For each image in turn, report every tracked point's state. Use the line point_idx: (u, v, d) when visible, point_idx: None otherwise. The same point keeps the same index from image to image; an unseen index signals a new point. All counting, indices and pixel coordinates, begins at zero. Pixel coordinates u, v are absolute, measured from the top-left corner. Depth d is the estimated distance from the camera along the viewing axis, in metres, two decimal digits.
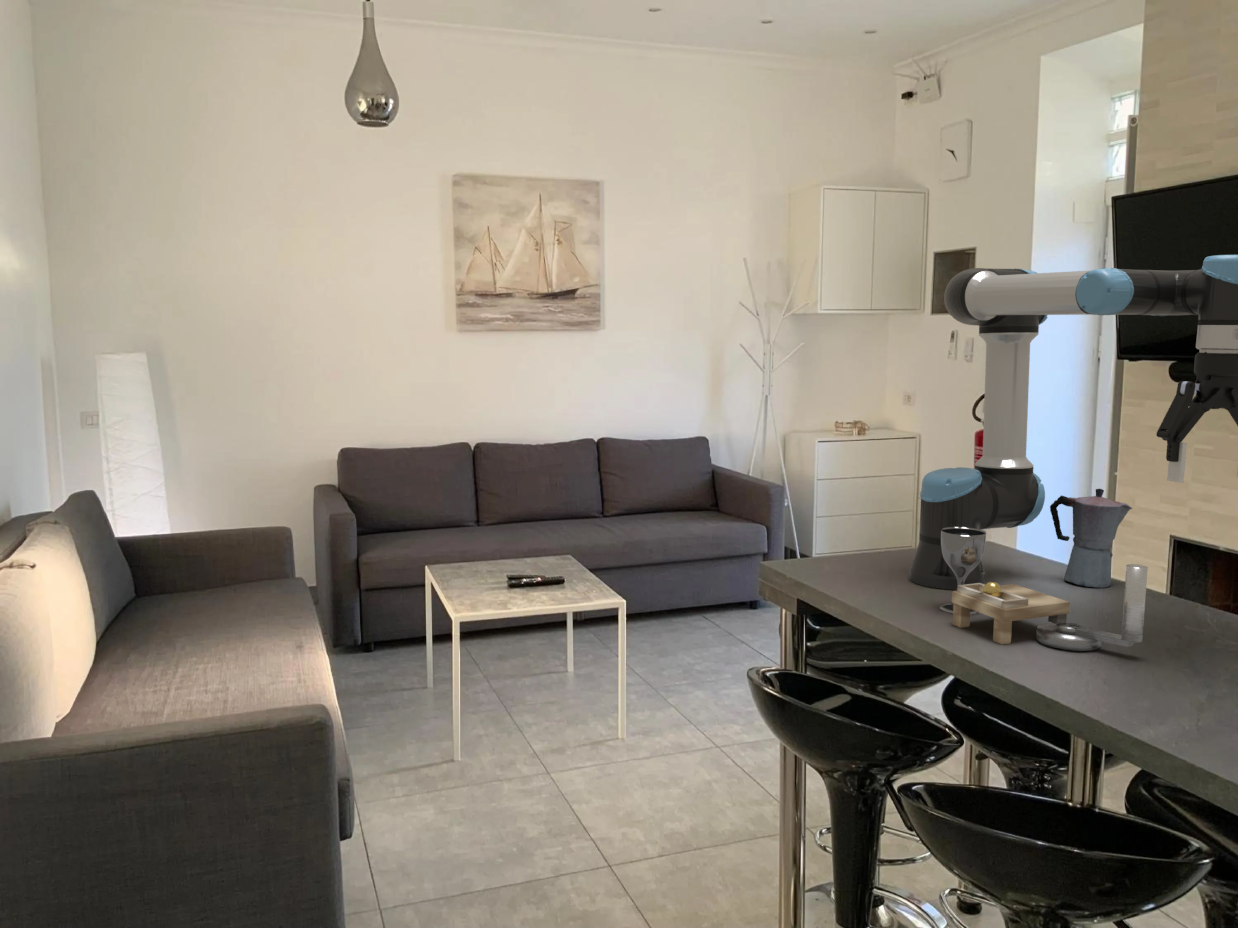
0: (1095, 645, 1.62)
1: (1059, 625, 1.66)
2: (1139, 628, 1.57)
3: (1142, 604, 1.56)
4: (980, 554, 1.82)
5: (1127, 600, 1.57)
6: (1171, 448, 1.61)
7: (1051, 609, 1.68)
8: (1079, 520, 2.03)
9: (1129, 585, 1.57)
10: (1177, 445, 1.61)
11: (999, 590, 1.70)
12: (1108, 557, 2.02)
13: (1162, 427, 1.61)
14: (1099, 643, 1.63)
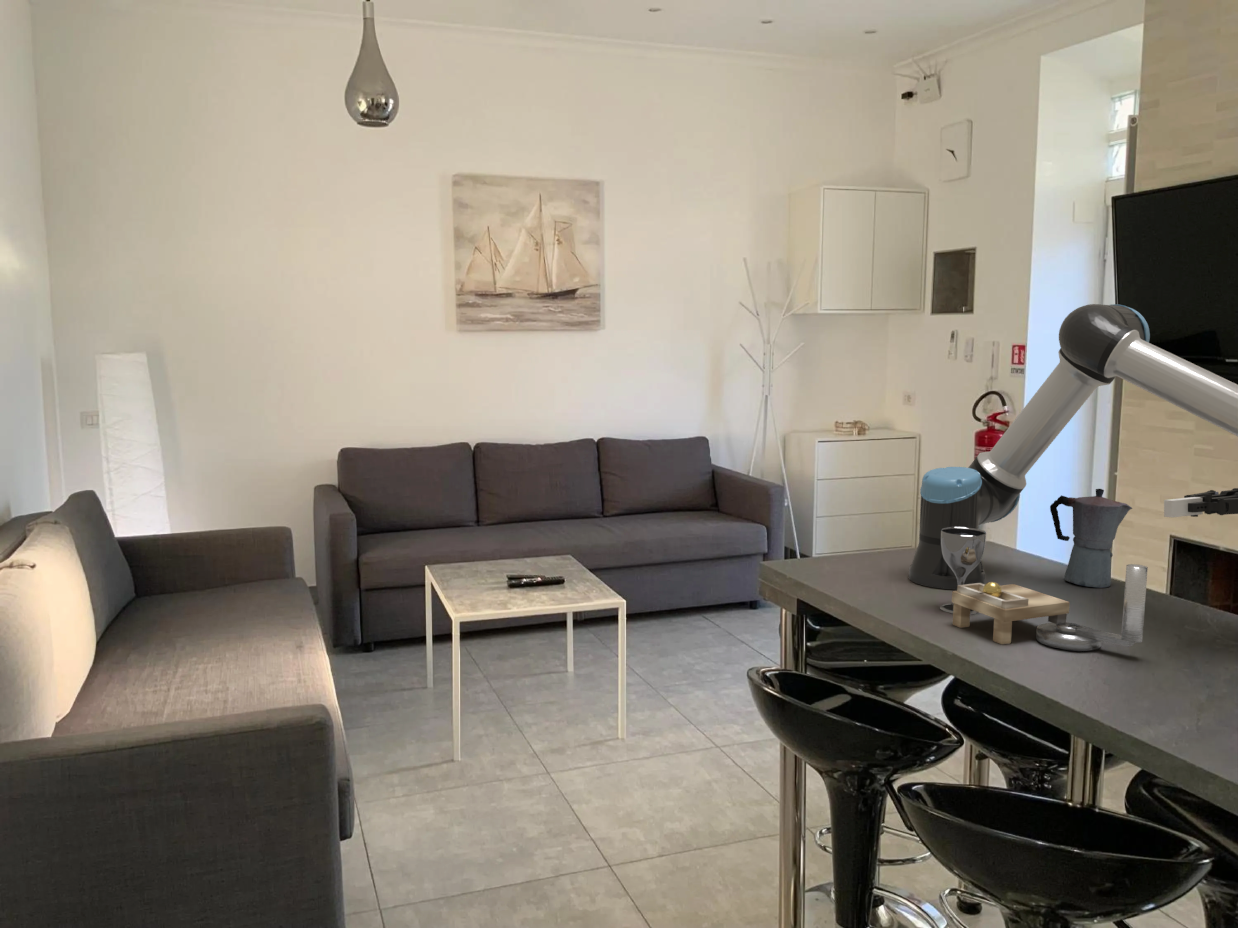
0: (1095, 645, 1.62)
1: (1059, 625, 1.66)
2: (1139, 628, 1.57)
3: (1142, 604, 1.56)
4: (980, 554, 1.82)
5: (1127, 600, 1.57)
6: (1204, 508, 1.59)
7: (1051, 609, 1.68)
8: (1079, 520, 2.03)
9: (1129, 585, 1.57)
10: None
11: (999, 590, 1.70)
12: (1108, 557, 2.02)
13: (1229, 503, 1.58)
14: (1099, 643, 1.63)
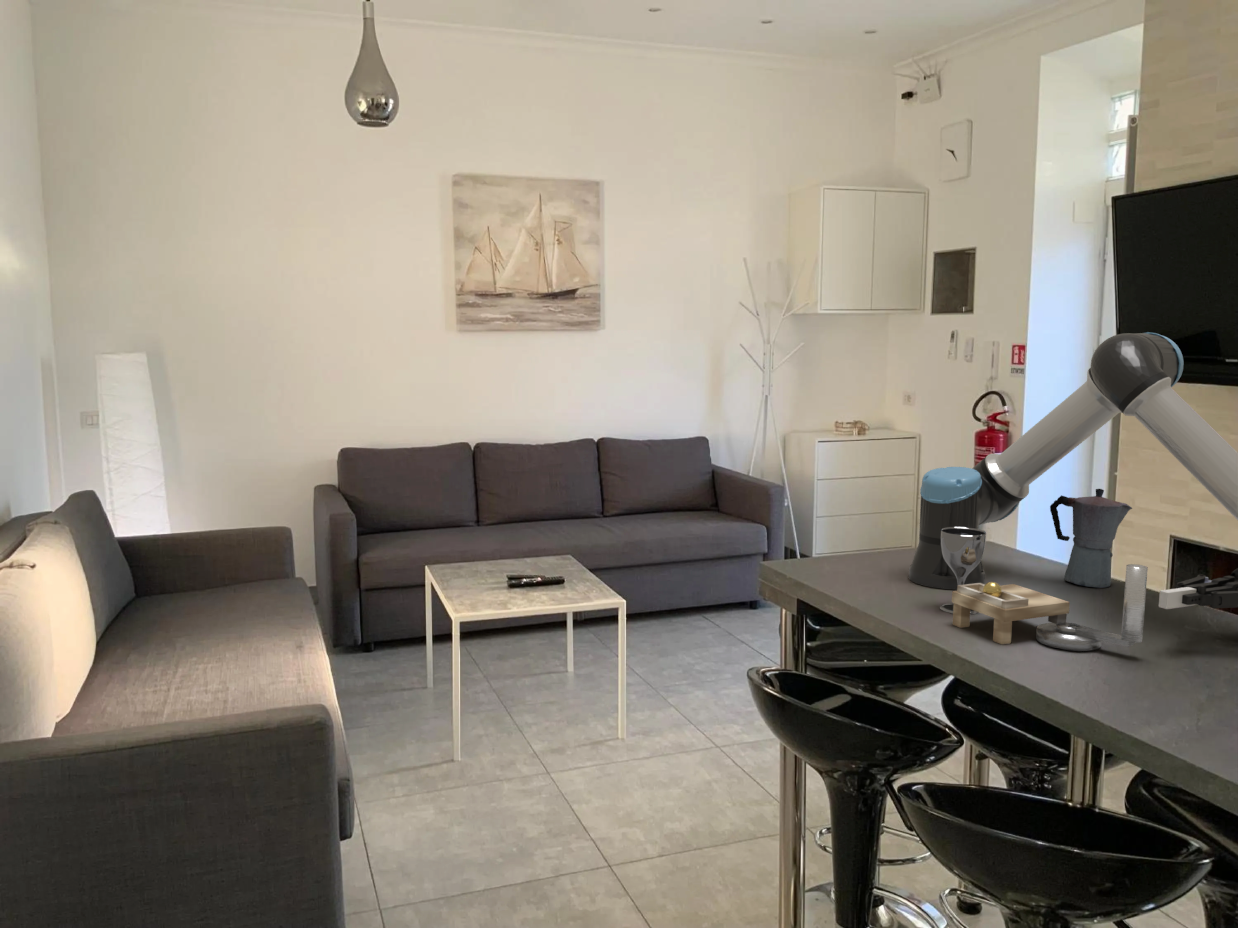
0: (1095, 645, 1.62)
1: (1059, 625, 1.66)
2: (1139, 628, 1.57)
3: (1142, 604, 1.56)
4: (980, 554, 1.82)
5: (1127, 600, 1.57)
6: (1197, 601, 1.60)
7: (1051, 609, 1.68)
8: (1079, 520, 2.03)
9: (1129, 585, 1.57)
10: None
11: (999, 590, 1.70)
12: (1108, 557, 2.02)
13: (1222, 597, 1.59)
14: (1099, 643, 1.63)
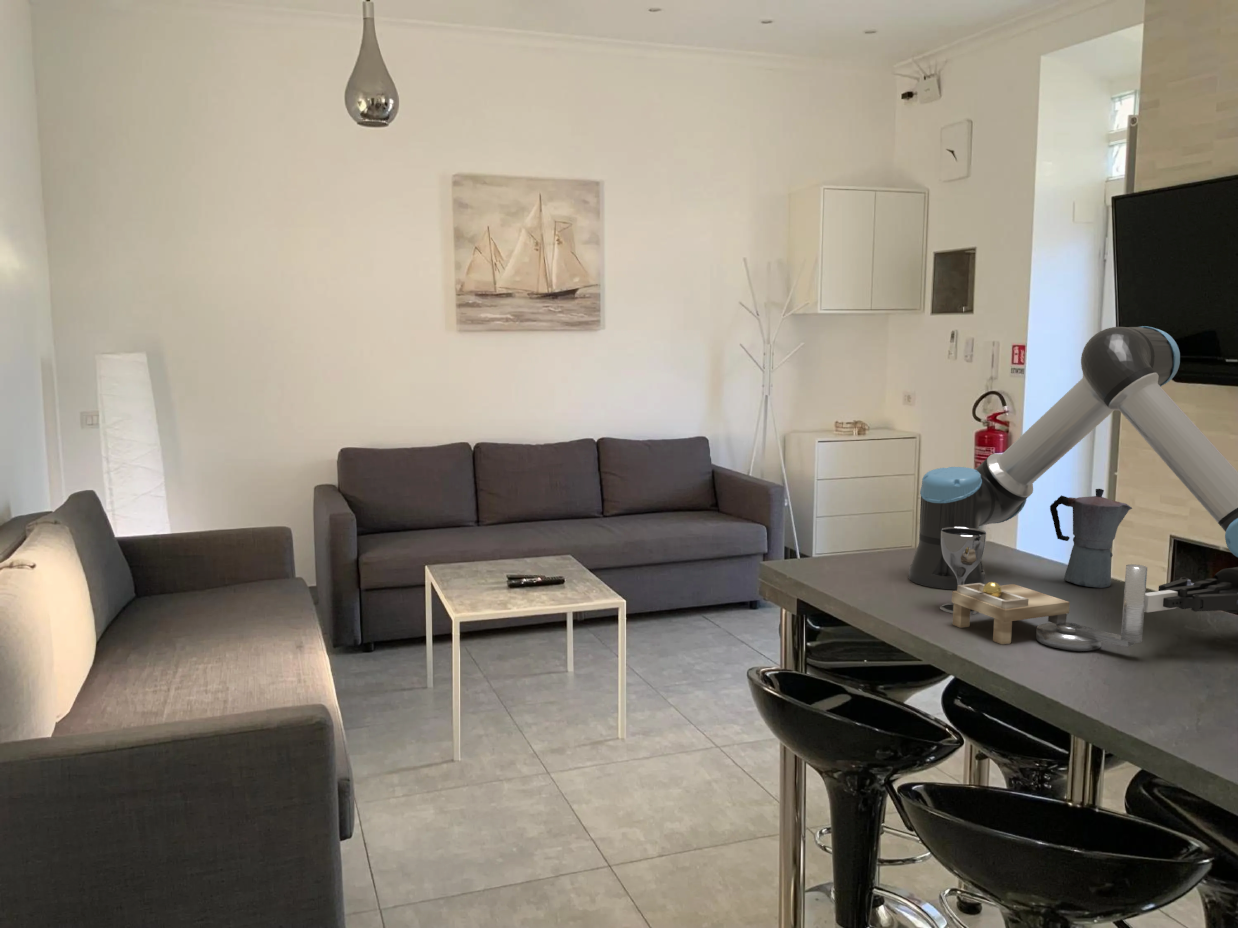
0: (1095, 645, 1.62)
1: (1059, 625, 1.66)
2: (1139, 628, 1.57)
3: (1142, 604, 1.56)
4: (980, 554, 1.82)
5: (1127, 600, 1.57)
6: (1179, 604, 1.58)
7: (1051, 609, 1.68)
8: (1079, 520, 2.03)
9: (1129, 585, 1.57)
10: None
11: (999, 590, 1.70)
12: (1108, 557, 2.02)
13: (1204, 600, 1.58)
14: (1099, 643, 1.63)
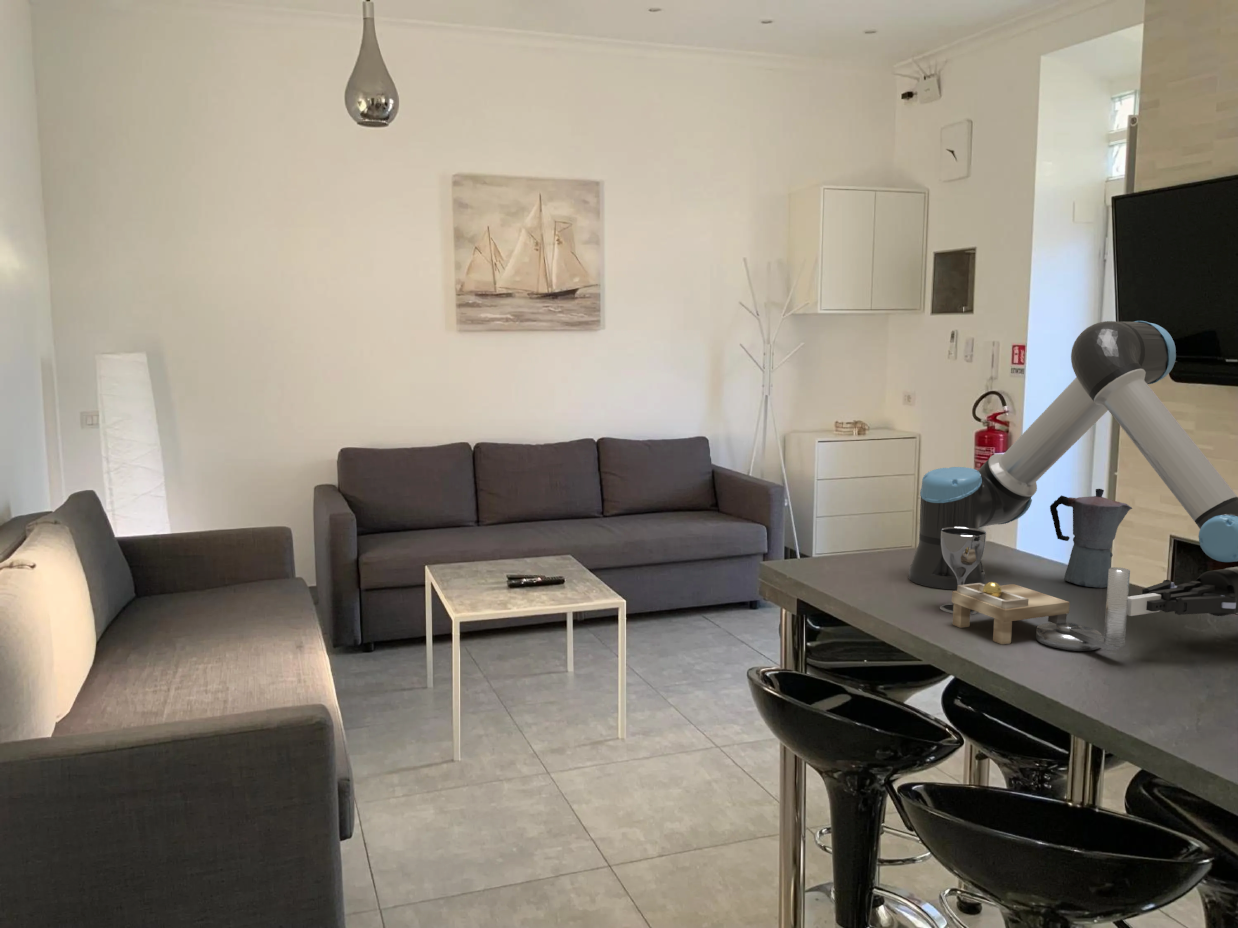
0: (1084, 646, 1.61)
1: (1058, 624, 1.67)
2: (1118, 632, 1.55)
3: (1121, 608, 1.54)
4: (980, 554, 1.82)
5: (1107, 603, 1.56)
6: (1162, 607, 1.56)
7: (1051, 609, 1.68)
8: (1079, 520, 2.03)
9: (1108, 588, 1.55)
10: None
11: (999, 590, 1.70)
12: (1108, 557, 2.02)
13: (1188, 603, 1.56)
14: (1091, 645, 1.62)
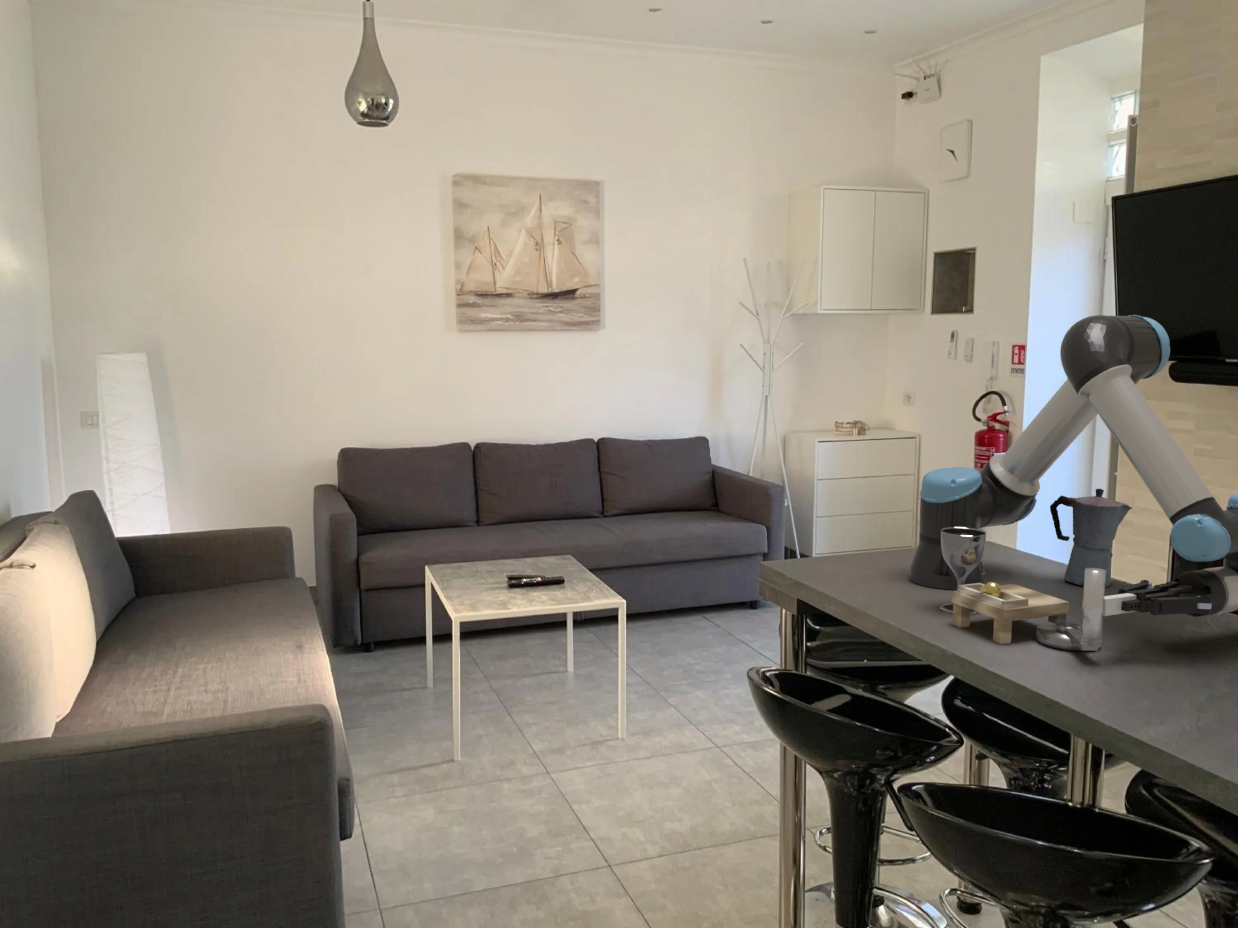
0: (1071, 646, 1.61)
1: (1060, 623, 1.67)
2: (1090, 632, 1.55)
3: (1093, 608, 1.54)
4: (980, 554, 1.82)
5: None
6: (1137, 607, 1.56)
7: (1051, 609, 1.68)
8: (1079, 520, 2.03)
9: None
10: None
11: (999, 590, 1.70)
12: (1108, 557, 2.02)
13: (1162, 603, 1.55)
14: None
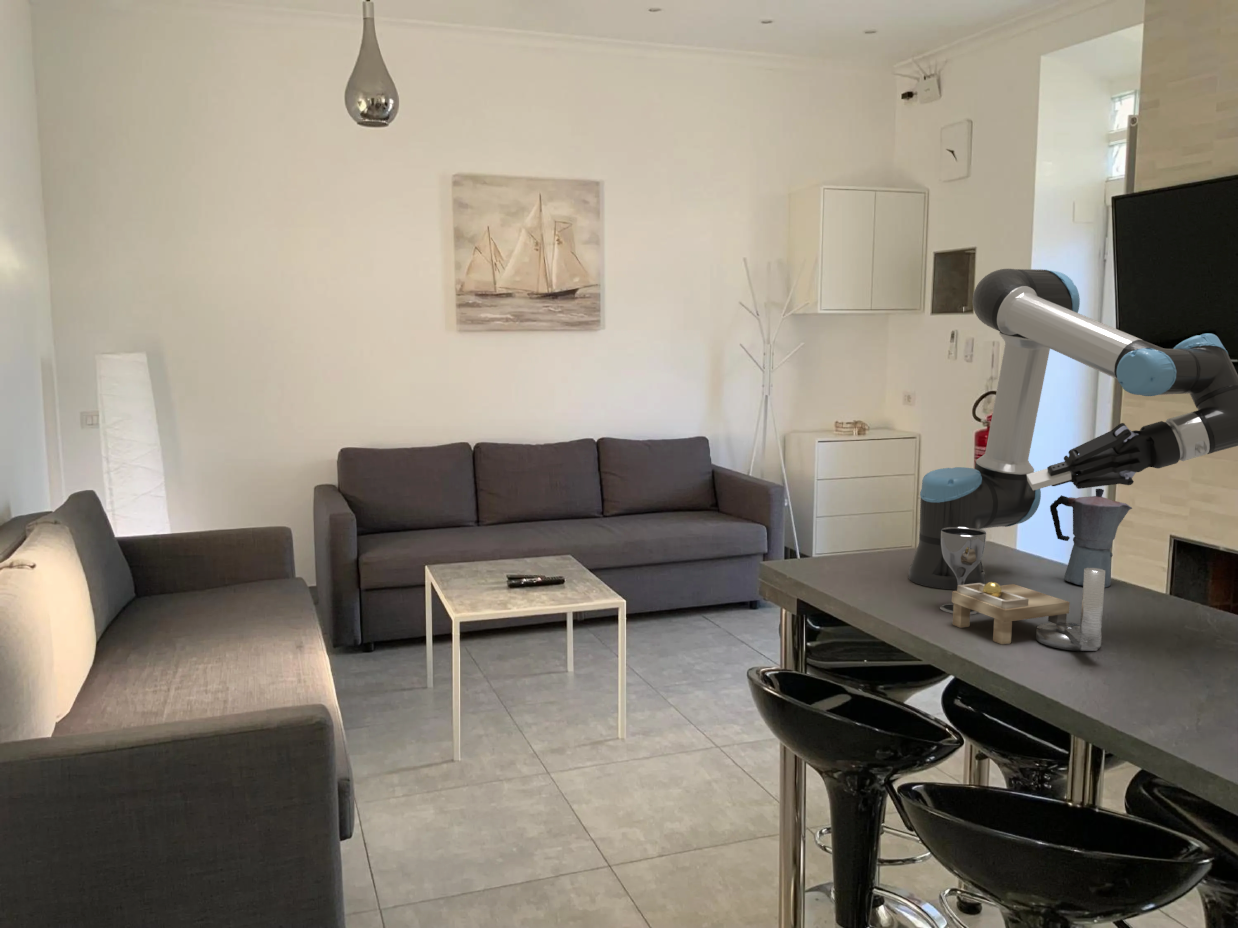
0: (1071, 646, 1.62)
1: (1060, 623, 1.67)
2: (1089, 632, 1.55)
3: (1092, 608, 1.54)
4: (980, 554, 1.82)
5: None
6: (1062, 466, 1.68)
7: (1051, 609, 1.68)
8: (1079, 520, 2.03)
9: None
10: (1066, 470, 1.68)
11: (999, 590, 1.70)
12: (1108, 557, 2.02)
13: (1077, 449, 1.67)
14: None
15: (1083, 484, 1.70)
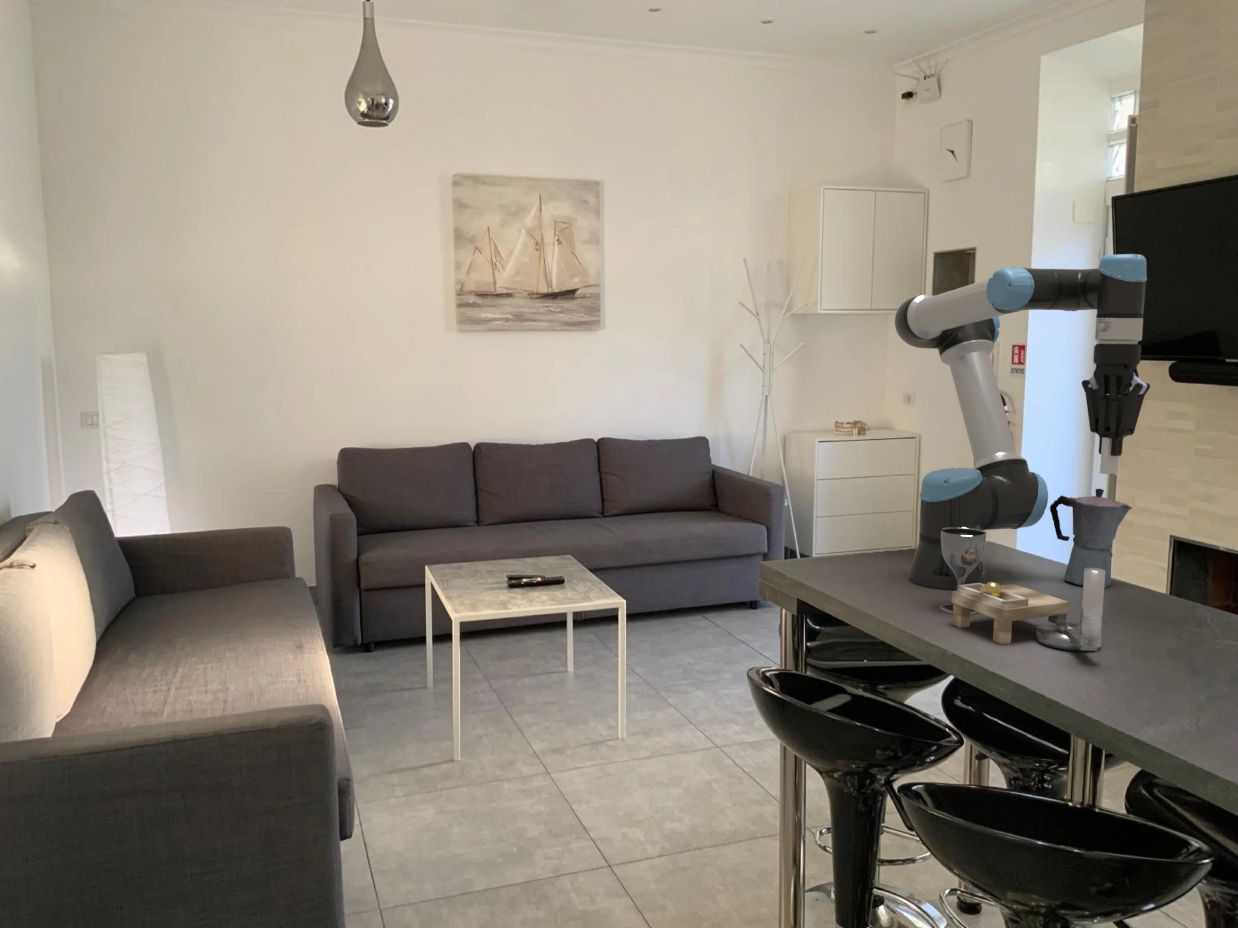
0: (1071, 646, 1.62)
1: (1060, 623, 1.67)
2: (1089, 632, 1.55)
3: (1092, 608, 1.54)
4: (980, 554, 1.82)
5: None
6: None
7: (1051, 609, 1.68)
8: (1079, 520, 2.03)
9: None
10: None
11: (999, 590, 1.70)
12: (1108, 557, 2.02)
13: (1096, 424, 1.83)
14: None
15: (1120, 428, 1.76)
